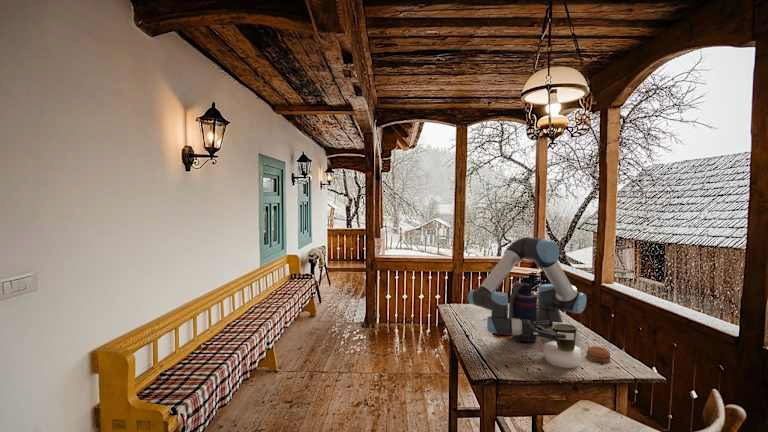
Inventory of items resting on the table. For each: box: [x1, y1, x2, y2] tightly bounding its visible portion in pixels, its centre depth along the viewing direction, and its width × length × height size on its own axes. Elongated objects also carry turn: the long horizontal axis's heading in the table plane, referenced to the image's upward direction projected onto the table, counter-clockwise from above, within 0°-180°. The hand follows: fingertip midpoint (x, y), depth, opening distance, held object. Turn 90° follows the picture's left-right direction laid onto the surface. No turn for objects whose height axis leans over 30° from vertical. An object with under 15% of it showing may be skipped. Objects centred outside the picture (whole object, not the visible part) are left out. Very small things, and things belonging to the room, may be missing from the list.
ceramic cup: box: [548, 323, 578, 351], centre depth 168 cm, size 13×10×10 cm
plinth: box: [544, 340, 582, 369], centre depth 170 cm, size 15×15×6 cm
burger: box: [586, 345, 611, 363], centre depth 173 cm, size 10×9×5 cm
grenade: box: [508, 281, 538, 344], centre depth 195 cm, size 14×12×30 cm
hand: (570, 331), depth 169 cm, fingers open, 13 cm apart
